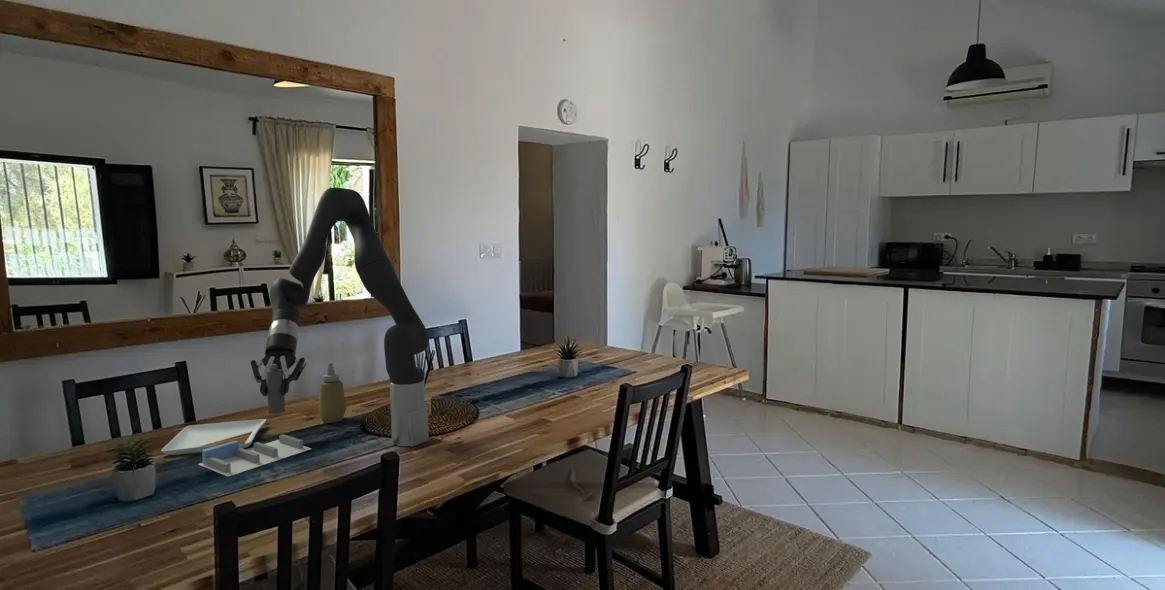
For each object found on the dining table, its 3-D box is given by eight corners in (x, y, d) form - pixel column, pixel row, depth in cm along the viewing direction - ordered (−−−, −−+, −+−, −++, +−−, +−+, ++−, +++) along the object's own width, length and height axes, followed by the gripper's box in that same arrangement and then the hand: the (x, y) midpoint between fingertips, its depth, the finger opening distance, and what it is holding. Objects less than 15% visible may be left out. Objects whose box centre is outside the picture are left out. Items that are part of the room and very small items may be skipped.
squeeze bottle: (328, 426, 190) (325, 367, 188) (313, 421, 195) (310, 363, 193) (352, 419, 197) (349, 362, 194) (337, 414, 201) (334, 359, 199)
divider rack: (311, 452, 169) (311, 435, 168) (228, 480, 151) (227, 462, 150) (281, 442, 176) (280, 426, 176) (198, 468, 158) (196, 450, 158)
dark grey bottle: (288, 410, 168) (285, 363, 166) (274, 414, 164) (270, 366, 163) (279, 408, 170) (276, 362, 169) (265, 412, 167) (262, 365, 165)
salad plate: (160, 462, 163) (159, 449, 162) (187, 435, 183) (186, 424, 183) (251, 454, 168) (250, 441, 168) (267, 429, 189) (267, 418, 188)
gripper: (250, 333, 171) (239, 388, 160) (307, 330, 174) (300, 385, 163) (258, 348, 177) (247, 403, 166) (312, 346, 179) (305, 399, 169)
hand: (273, 393), depth 165 cm, fingers closed on dark grey bottle, 4 cm apart
